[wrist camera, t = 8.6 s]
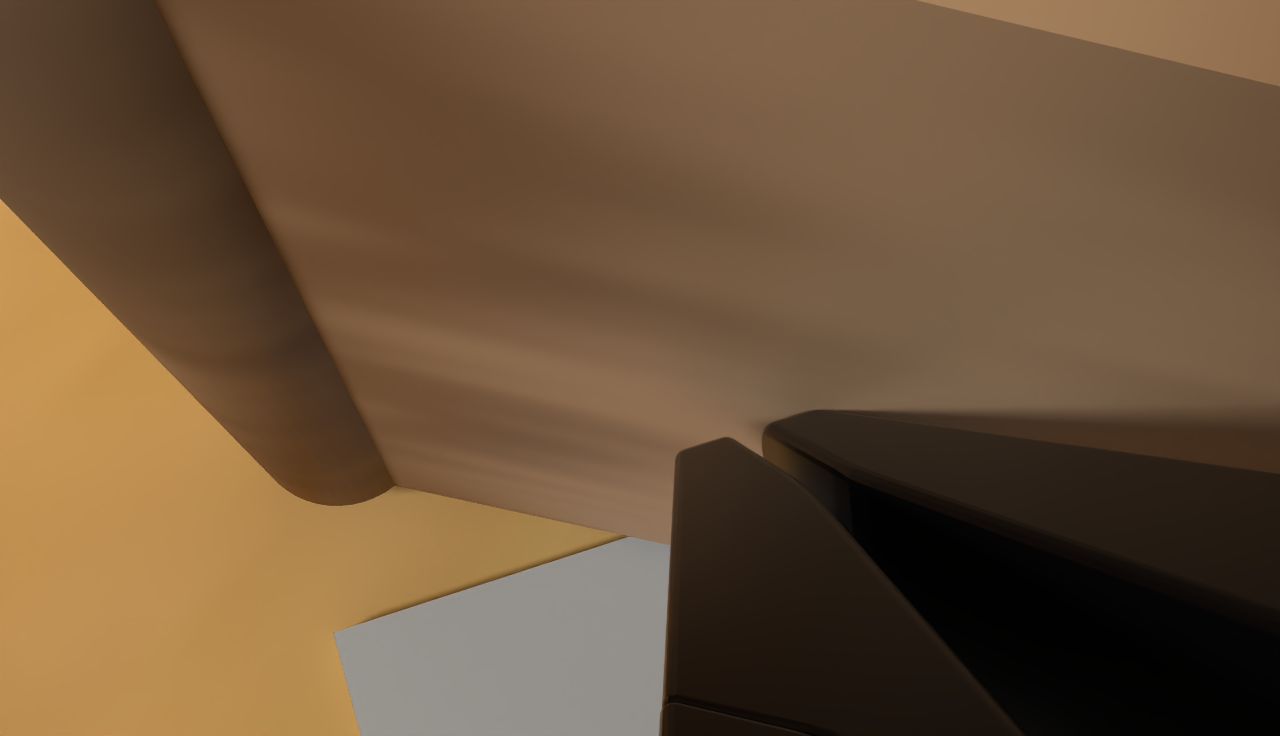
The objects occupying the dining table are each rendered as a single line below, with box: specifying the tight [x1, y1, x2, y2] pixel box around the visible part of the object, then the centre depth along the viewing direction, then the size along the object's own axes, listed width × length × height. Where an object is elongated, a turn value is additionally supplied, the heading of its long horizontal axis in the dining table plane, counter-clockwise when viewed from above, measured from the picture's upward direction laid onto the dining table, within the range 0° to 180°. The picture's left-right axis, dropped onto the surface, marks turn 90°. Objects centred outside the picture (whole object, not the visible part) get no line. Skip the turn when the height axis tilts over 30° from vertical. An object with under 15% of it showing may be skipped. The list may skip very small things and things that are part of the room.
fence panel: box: [0, 0, 1280, 545], centre depth 9 cm, size 16×2×12 cm, turn 78°
